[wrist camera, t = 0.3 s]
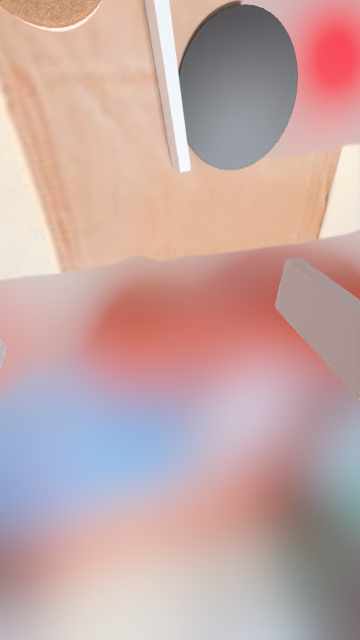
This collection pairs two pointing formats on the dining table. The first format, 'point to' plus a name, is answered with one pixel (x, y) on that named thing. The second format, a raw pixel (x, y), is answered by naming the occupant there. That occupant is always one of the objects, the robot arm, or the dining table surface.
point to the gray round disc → (238, 86)
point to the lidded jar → (52, 12)
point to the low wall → (168, 81)
